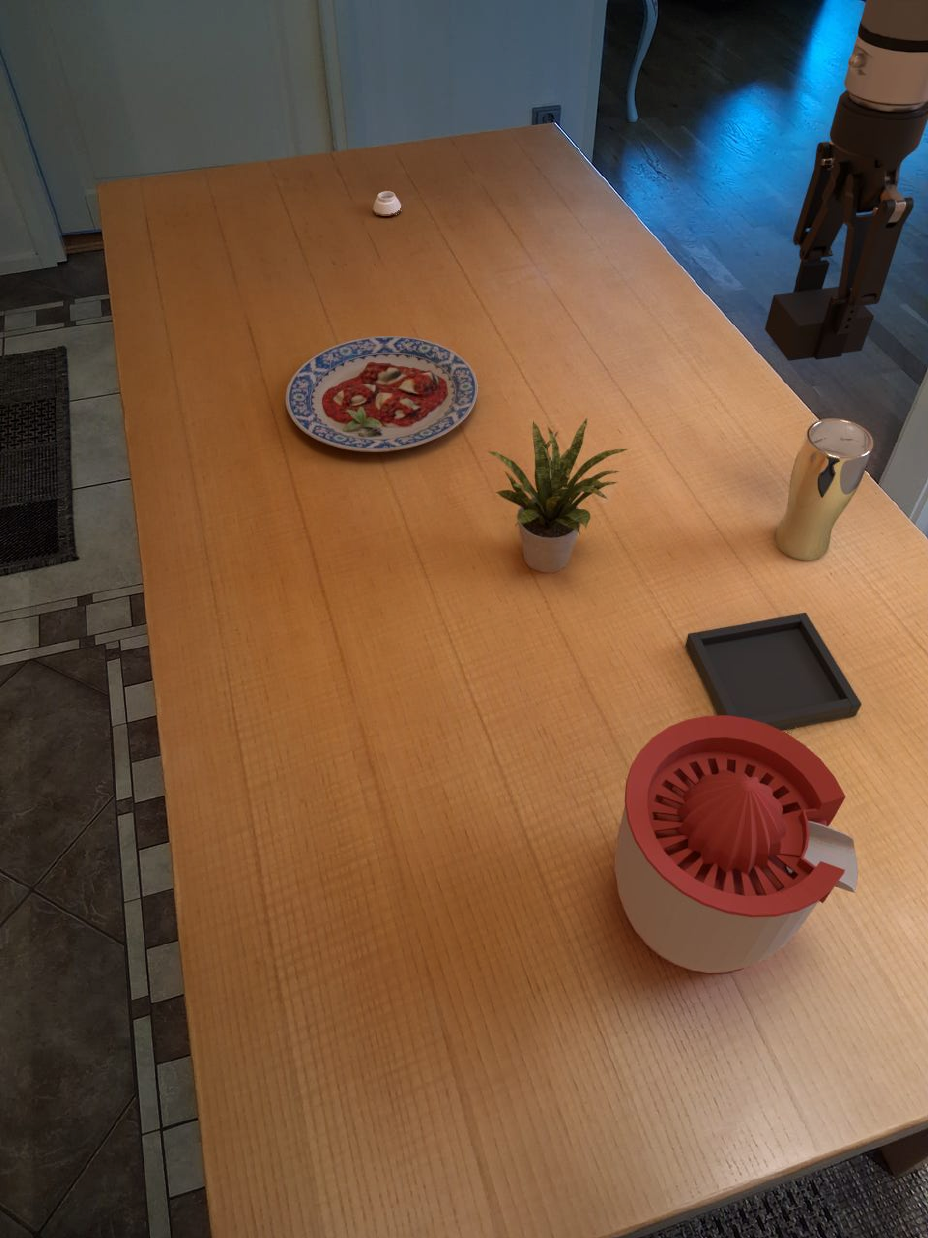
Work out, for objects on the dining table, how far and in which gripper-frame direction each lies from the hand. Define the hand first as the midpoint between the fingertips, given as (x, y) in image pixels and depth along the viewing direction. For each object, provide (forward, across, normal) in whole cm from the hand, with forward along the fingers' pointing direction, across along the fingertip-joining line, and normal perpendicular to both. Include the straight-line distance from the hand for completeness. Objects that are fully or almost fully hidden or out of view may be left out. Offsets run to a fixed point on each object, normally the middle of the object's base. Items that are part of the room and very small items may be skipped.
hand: (812, 337), depth 93 cm
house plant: (+21, +6, -28) cm, 35 cm away
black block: (0, 0, 0) cm, 0 cm away
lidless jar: (+21, -83, -35) cm, 92 cm away
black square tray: (+21, +27, -11) cm, 36 cm away
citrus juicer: (+21, +48, -26) cm, 59 cm away
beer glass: (+21, +9, 0) cm, 23 cm away
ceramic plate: (+21, -28, -43) cm, 55 cm away
